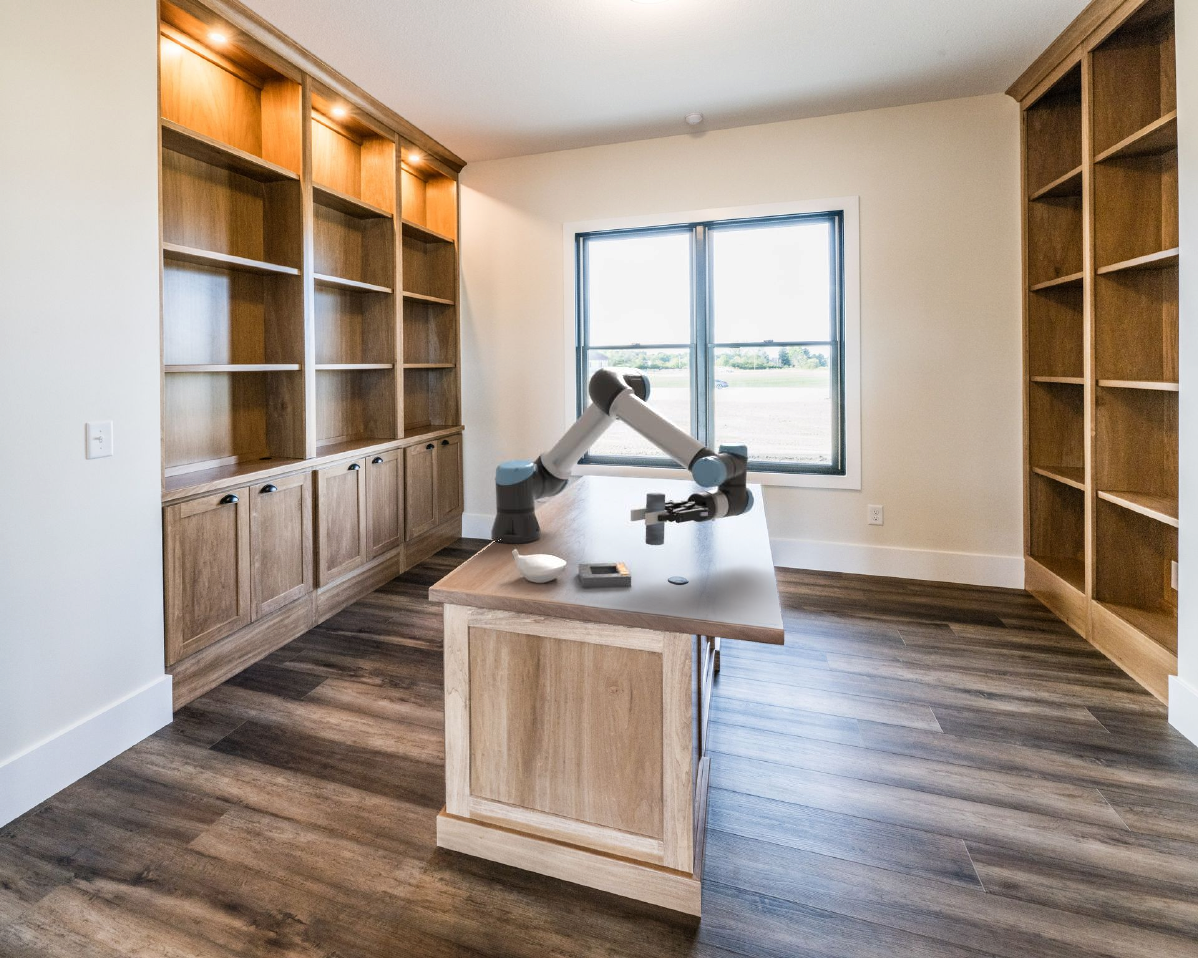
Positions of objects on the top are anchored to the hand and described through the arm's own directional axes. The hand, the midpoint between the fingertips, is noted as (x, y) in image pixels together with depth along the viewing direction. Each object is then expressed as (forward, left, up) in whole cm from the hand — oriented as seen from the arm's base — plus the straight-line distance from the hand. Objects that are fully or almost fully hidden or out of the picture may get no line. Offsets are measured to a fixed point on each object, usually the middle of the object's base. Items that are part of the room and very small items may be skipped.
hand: (639, 517), depth 154 cm
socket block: (-7, -5, -16) cm, 18 cm away
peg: (0, +5, -7) cm, 9 cm away
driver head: (-16, -18, -16) cm, 29 cm away
